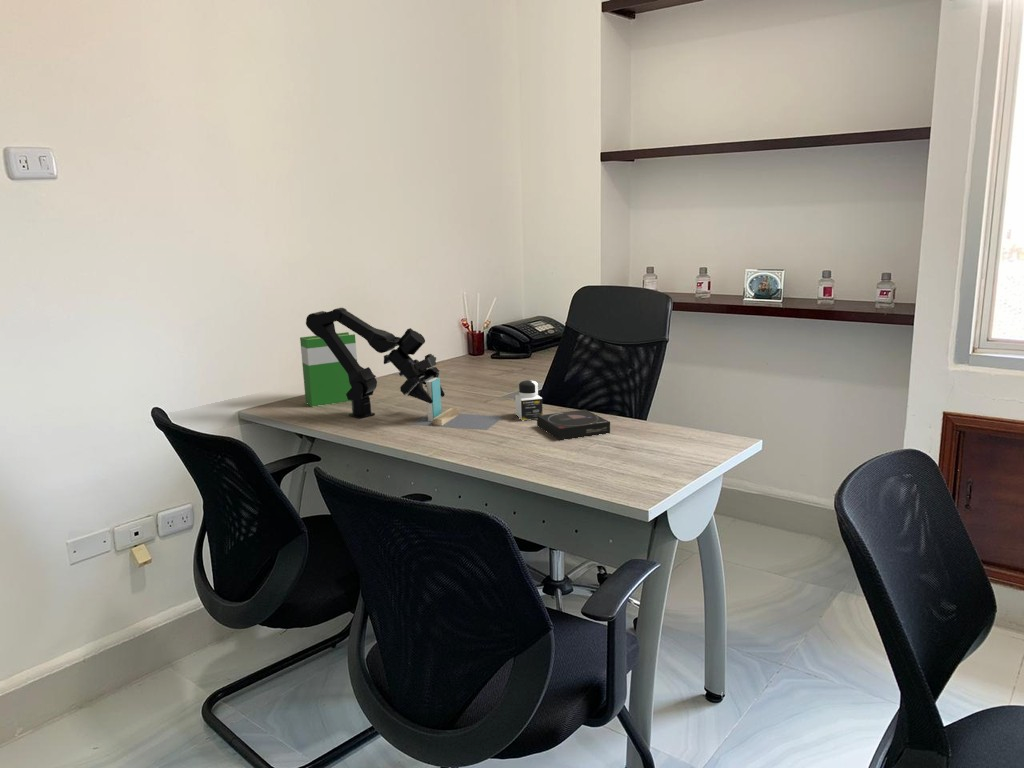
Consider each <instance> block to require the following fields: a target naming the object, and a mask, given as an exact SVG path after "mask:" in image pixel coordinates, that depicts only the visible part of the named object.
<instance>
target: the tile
mask: <svg viewBox="0 0 1024 768" xmlns="http://www.w3.org/2000/svg"><path fill="white" fill-rule="evenodd" d="M440 385H441V377H438V378H432V379H430V380H428V381H426V386H427V387H426V392H427V394H428V395H429V396H430V397H431V399H432V400H433V402H432V403H431V404H430V403H427V402H426V403H427V414H428V421H433V419H434V418H435V417H437V416H438V415H440V414H442V413H443V411H442V396H441V391H440Z"/></svg>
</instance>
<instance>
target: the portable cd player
mask: <svg viewBox="0 0 1024 768" xmlns="http://www.w3.org/2000/svg"><path fill="white" fill-rule="evenodd" d="M536 426H537V427H538V426H539V427H540V429H541V428H542V429H543V430H542V429H541V430H542V431H544V430H545V431H544V432H546V431H547V432H548V433H547V432H546V433H547V434H549V433H550V434H551V435H550V434H549V435H550V436H552V435H553V436H552V437H554V438H555V437H556V438H555V439H557V440H558V439H559V440H558V441H560V440H561V441H565V440H564V439H568V440H573V439H572V438H575V439H579V438H578V437H582V438H585V437H584V436H589V437H593V436H592V435H596V436H600V435H599V434H602V435H607V434H606V433H609V434H611V422H610V421H609V420H607V419H605V418H603V417H601V416H600V415H597V414H595V413H593V412H591V411H589V410H587V409H580V410H579V409H578V410H573V411H571V410H570V411H563V412H562V411H561V412H556V413H548V414H543V415H539V416H538V417H537V420H536ZM539 427H538V428H539Z"/></svg>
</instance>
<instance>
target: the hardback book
mask: <svg viewBox="0 0 1024 768" xmlns="http://www.w3.org/2000/svg"><path fill="white" fill-rule="evenodd" d="M336 333H337V335H338V336H339V337H340V339H341V340H342V342H343V343H344V344H345V346H346V347H347V348H348V350H349V351H350V353H351V354H352V355H353V357H354V358H355V360H356V361H357V362H358V357H357V356H358V355H357V343H356V334H354V333H353V334H350V333H349V332H348V331H346V332H339V333H338V332H336ZM299 341H300V342H299V343H300V350H301V351H300V352H301V364H302V375H303V385H304V398H305V399H304V400H305V404H306V403H308V404H309V405H311V406H318V405H324V406H326V405H325V404H330V405H333V404H332V403H336V404H340V403H339V402H343V403H346V402H345V401H349V402H352V401H351V400H348V398H347V396H346V393H347V392H348V391H349V390H350V389H351V388H352V387H351V385H350V383H349V377H348V374H347V372H346V371H345V369H344V368H343V367H342V365H341V364H340V362H339V361H338V360H337V358H336V357H335V355H334V354H333V353H332V351H331V350H330V349H329V347H328V346H327V344H326V343H325V342H324V340H323V339H321V338H320V337H318V336H316V335H309V336H302V337H299ZM308 404H307V405H308ZM309 405H308V406H309ZM311 406H310V407H311ZM318 407H319V406H318Z"/></svg>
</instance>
